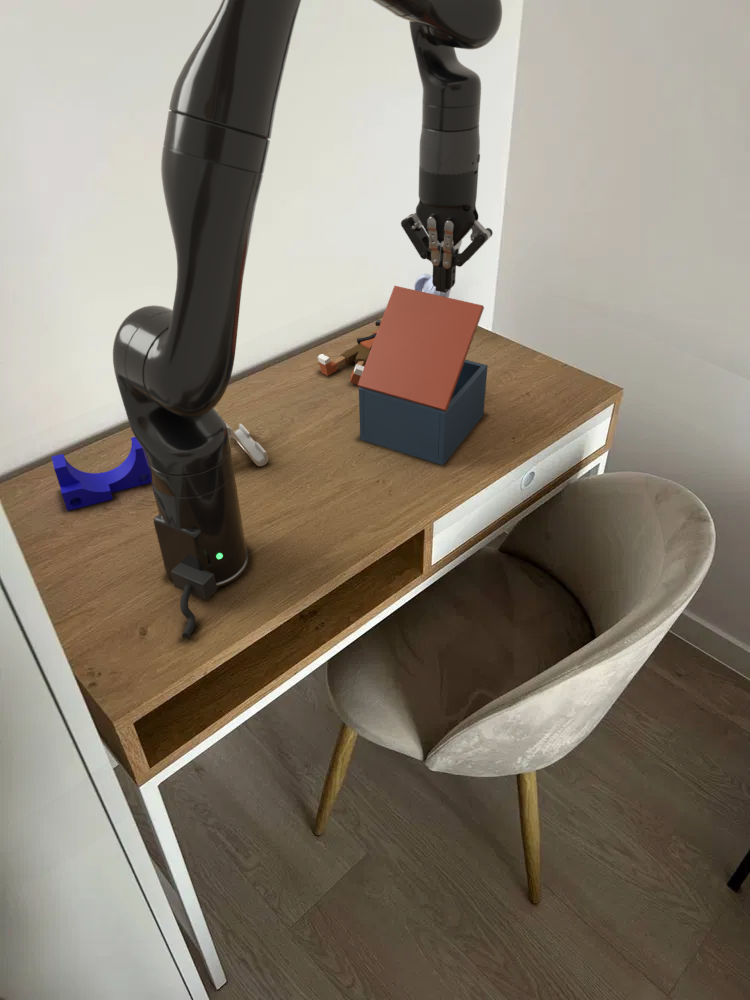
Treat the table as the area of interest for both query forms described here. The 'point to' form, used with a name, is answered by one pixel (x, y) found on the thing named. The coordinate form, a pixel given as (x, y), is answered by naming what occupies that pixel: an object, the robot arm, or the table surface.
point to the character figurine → (350, 357)
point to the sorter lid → (421, 347)
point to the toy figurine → (428, 285)
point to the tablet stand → (248, 445)
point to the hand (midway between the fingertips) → (443, 289)
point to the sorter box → (424, 418)
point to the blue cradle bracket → (100, 479)
